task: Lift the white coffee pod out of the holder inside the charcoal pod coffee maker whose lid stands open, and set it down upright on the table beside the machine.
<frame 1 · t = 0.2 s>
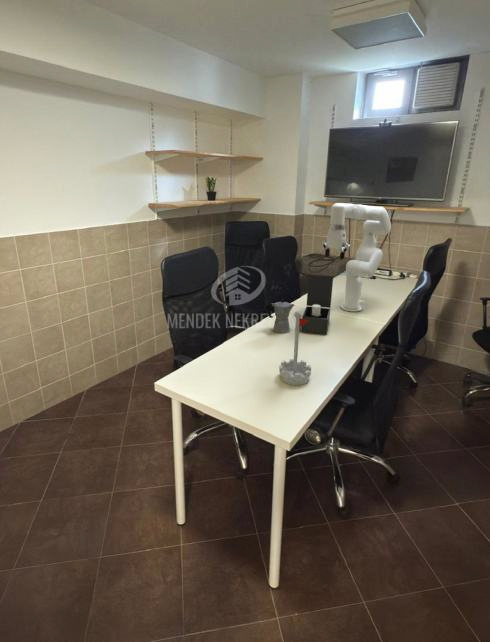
hand: (334, 257, 203), 37 cm above the table, tool pointing down, fingers open, 9 cm apart
coffee maker: (315, 327, 201), on the table
lid: (320, 290, 206), point 18 cm above the table, hinge at 100.0°
coffeepot: (279, 330, 197), on the table
coffee pod: (315, 314, 195), point 9 cm above the table, touching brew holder
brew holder: (314, 329, 198), resting on coffee maker
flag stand: (294, 378, 150), on the table
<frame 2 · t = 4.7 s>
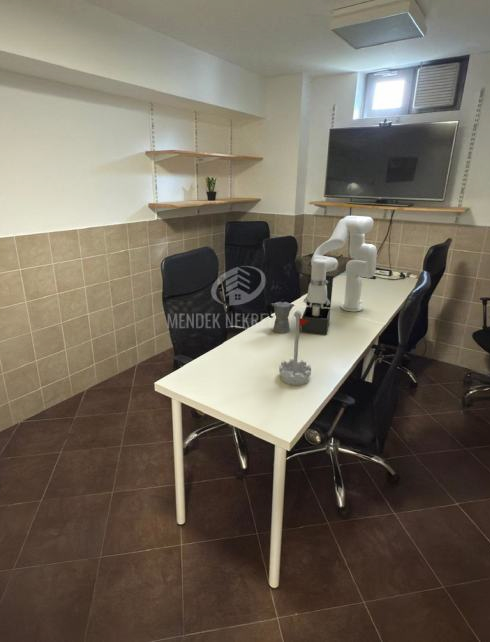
hand: (315, 314, 195), 9 cm above the table, tool pointing down, fingers closed on coffee pod, 4 cm apart
coffee pod: (315, 314, 195), point 9 cm above the table, touching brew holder, gripper
everything else where it was.
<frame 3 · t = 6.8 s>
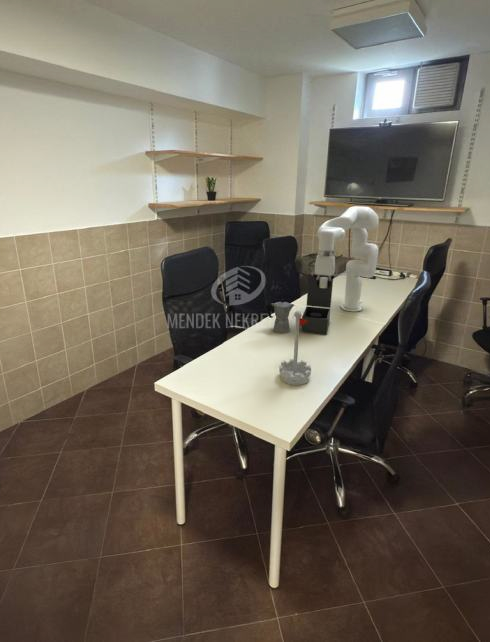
hand: (323, 286, 190), 25 cm above the table, tool pointing down, fingers closed on coffee pod, 4 cm apart
coffee pod: (323, 287, 190), point 25 cm above the table, touching gripper
everything else where it was.
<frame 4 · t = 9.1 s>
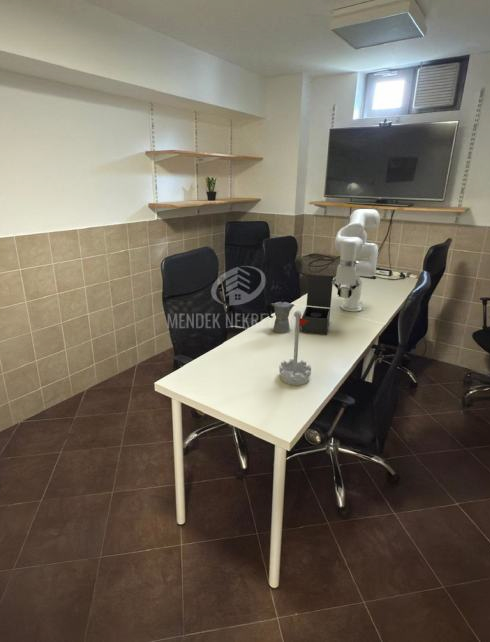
hand: (344, 296, 190), 20 cm above the table, tool pointing down, fingers closed on coffee pod, 4 cm apart
coffee pod: (344, 296, 190), point 19 cm above the table, touching gripper
everything else where it was.
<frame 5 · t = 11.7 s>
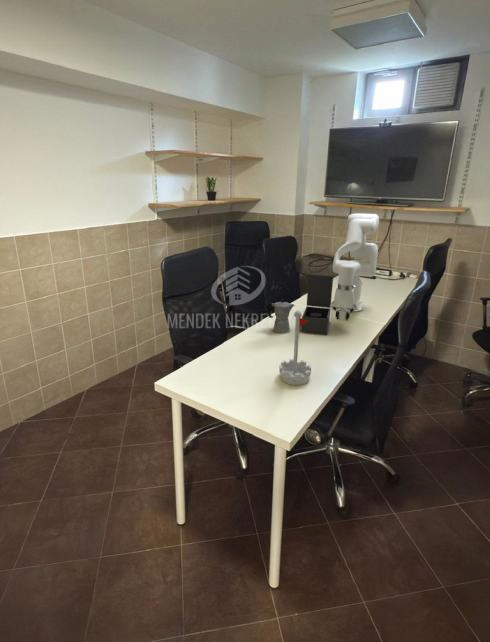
hand: (342, 318, 194), 7 cm above the table, tool pointing down, fingers closed on coffee pod, 4 cm apart
coffee pod: (342, 319, 194), point 7 cm above the table, touching gripper
everything else where it was.
when the fingers open (0 cm above the table, at t = 13.7 s): coffee pod stays where it is, on the table.
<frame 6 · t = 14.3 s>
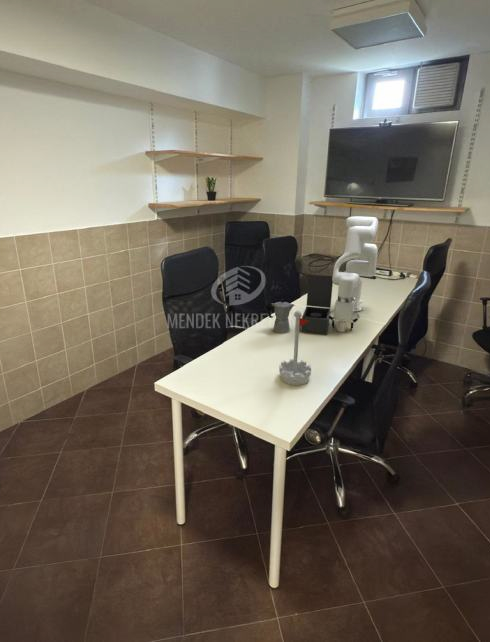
hand: (342, 328, 197), 1 cm above the table, tool pointing down, fingers open, 9 cm apart
coffee pod: (341, 330, 197), on the table
everything else where it was.
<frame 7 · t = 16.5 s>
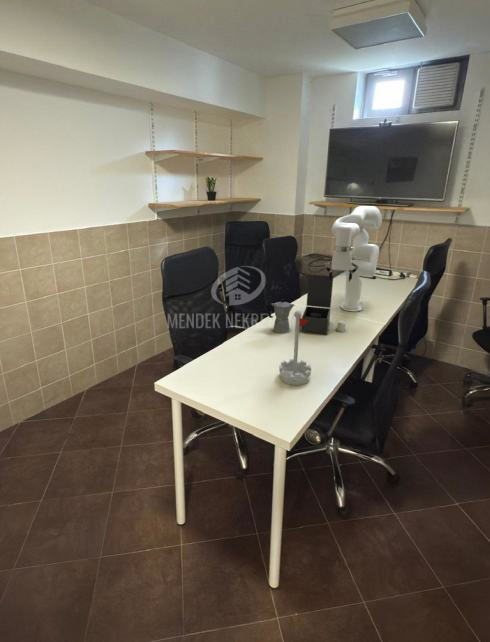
hand: (340, 280, 193), 27 cm above the table, tool pointing down, fingers open, 9 cm apart
nothing on the table moved.
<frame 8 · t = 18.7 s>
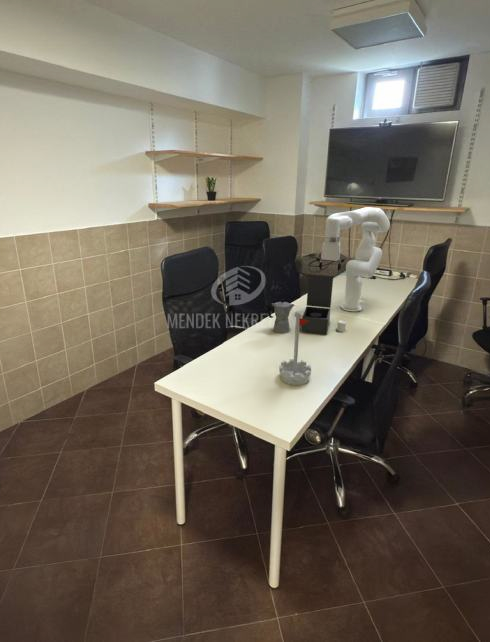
hand: (329, 269, 202), 30 cm above the table, tool pointing down, fingers open, 9 cm apart
nothing on the table moved.
at the end: coffee pod inside the target area (0.2 cm from its centre), on the table; coffee pod tilted 0° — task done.
